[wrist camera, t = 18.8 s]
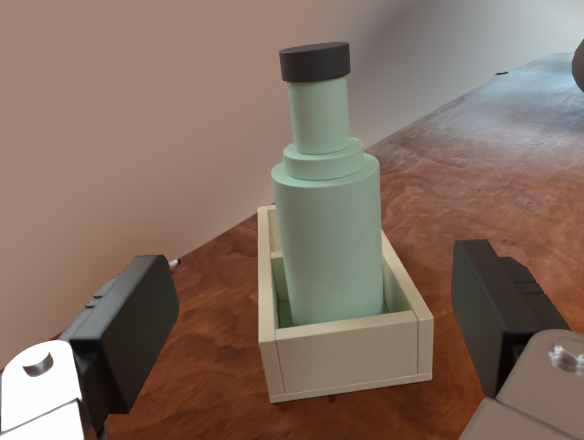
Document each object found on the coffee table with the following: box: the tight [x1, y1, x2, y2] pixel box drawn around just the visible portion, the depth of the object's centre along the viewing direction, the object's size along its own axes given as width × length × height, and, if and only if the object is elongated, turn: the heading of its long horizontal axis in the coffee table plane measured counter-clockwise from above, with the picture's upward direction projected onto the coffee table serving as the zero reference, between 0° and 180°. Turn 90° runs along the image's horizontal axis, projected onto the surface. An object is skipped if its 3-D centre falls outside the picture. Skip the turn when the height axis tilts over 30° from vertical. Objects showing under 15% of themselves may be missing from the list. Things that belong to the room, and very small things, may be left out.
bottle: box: [271, 42, 384, 327], centre depth 22 cm, size 5×5×15 cm
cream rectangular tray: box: [258, 205, 434, 403], centre depth 28 cm, size 8×16×4 cm, turn 4°
